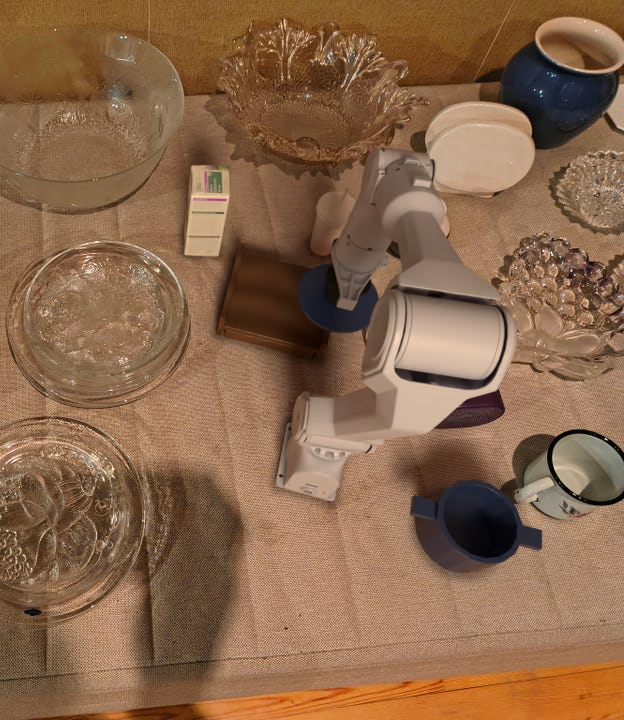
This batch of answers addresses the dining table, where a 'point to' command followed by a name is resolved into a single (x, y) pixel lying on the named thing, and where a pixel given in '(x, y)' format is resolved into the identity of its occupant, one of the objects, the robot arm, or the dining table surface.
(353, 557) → the dining table surface
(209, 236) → the syrup box
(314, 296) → the lid
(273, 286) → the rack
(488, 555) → the pot
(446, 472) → the dining table surface
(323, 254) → the smoothie
